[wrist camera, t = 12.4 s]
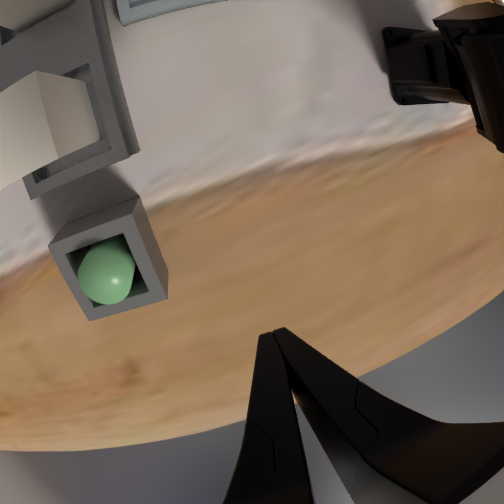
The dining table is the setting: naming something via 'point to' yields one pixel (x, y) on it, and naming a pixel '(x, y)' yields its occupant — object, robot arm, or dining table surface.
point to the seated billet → (42, 123)
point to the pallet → (77, 67)
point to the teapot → (499, 2)
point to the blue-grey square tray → (152, 8)
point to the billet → (27, 12)
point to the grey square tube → (140, 243)
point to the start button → (107, 270)
